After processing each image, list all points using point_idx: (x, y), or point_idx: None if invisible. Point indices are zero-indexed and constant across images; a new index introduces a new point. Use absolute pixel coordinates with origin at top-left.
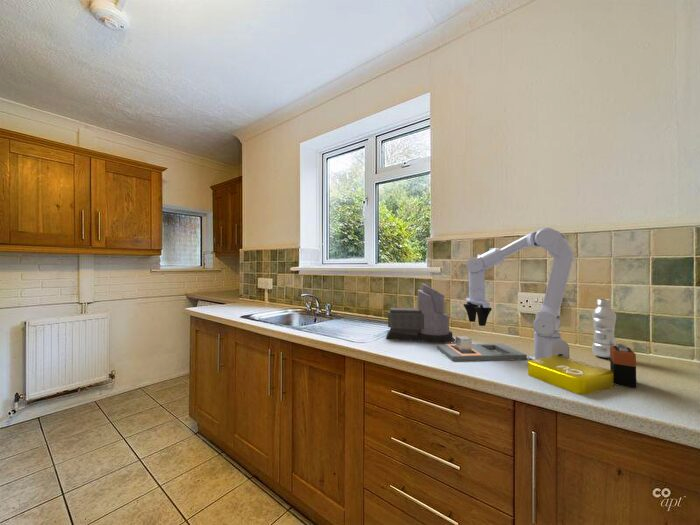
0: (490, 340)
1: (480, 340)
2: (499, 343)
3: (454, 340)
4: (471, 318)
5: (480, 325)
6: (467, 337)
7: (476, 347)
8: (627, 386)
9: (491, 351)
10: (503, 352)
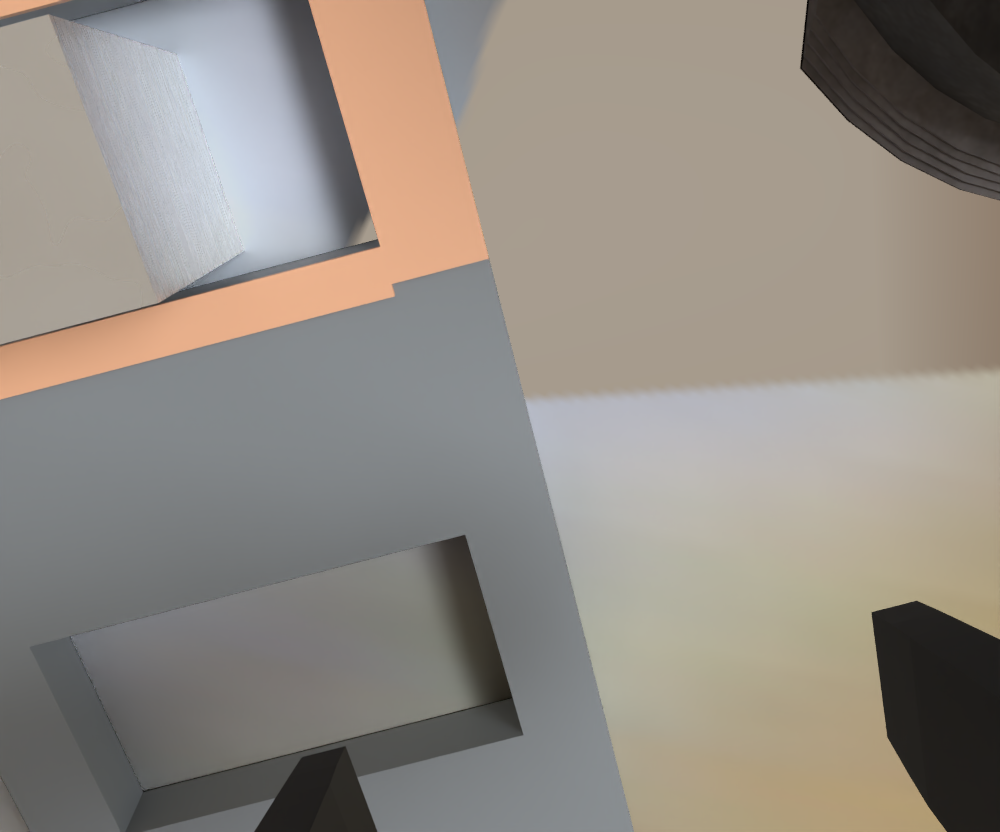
0: None
1: (991, 612)
2: (629, 817)
3: (961, 169)
4: (929, 711)
5: (295, 774)
6: (1, 299)
7: (310, 442)
8: None
9: (129, 616)
10: None
